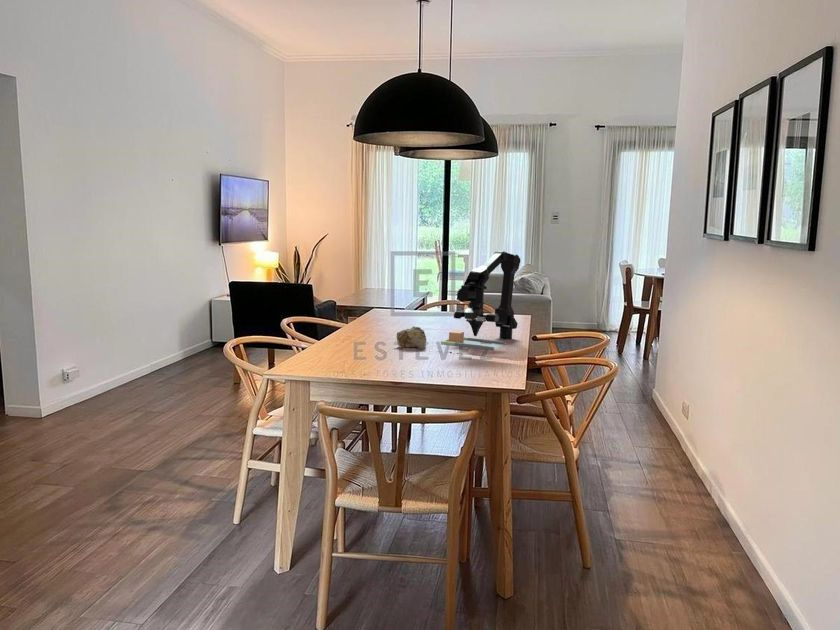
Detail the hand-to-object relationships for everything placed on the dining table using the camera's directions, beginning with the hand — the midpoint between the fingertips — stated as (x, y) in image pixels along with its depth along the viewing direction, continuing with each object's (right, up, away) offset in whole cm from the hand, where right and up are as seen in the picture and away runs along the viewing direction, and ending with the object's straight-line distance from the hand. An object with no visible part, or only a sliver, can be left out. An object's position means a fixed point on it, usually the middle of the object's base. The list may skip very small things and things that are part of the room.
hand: (475, 336), depth 270 cm
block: (-8, -3, +4) cm, 9 cm away
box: (-1, -5, +1) cm, 5 cm away
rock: (-27, -5, -1) cm, 28 cm away
